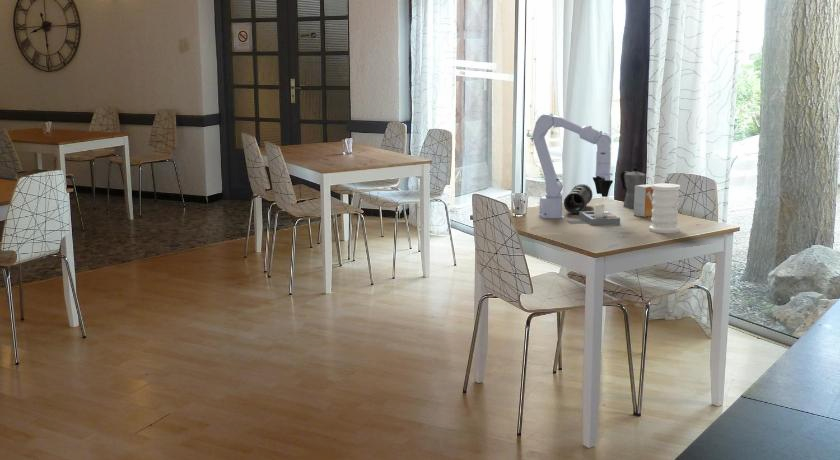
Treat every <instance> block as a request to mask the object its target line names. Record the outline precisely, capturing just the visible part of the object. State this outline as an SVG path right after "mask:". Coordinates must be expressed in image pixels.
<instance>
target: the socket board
mask: <svg viewBox="0 0 840 460" xmlns="http://www.w3.org/2000/svg"><path fill="white" fill-rule="evenodd" d="M578 217H579V218H580V220H583V221H584V222H586V223H587V224H589V225H590V226H604V225H605V226H610V225H611V226H612V225H616V226H617V225H621V218H620V217H618V216H617V215H615V214H613V213H612V212H610V211H608V210H604V218H594V210H585V211H584V210H582V211H579V213H578Z"/></svg>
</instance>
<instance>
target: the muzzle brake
mask: <svg viewBox="0 0 840 460" xmlns="http://www.w3.org/2000/svg"><path fill="white" fill-rule="evenodd" d="M593 194H594V193H593V190H592V188H591V187H590V186H589V185H587V184H582V183H581V184H577V185H575V186H574V187H573V188H572V189H571V191H570V192H569V193H568V194H567V195H566V196H565V198H564V199H563V200H564V201H563V206H564V208H565V210H566V212H568V213H569V214H572V215H577V214H579V211H584V209H585V207H586V206H587V205H588V204H589V203H590V202H591V201H592V198H593Z"/></svg>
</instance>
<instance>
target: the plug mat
mask: <svg viewBox="0 0 840 460" xmlns="http://www.w3.org/2000/svg"><path fill="white" fill-rule="evenodd" d="M566 222H567V223H569V224H570V225H582V224H583V225H586V224H588V223H587V222H585V221H584V220H582V219H580V220H566Z"/></svg>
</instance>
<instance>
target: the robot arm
mask: <svg viewBox="0 0 840 460" xmlns="http://www.w3.org/2000/svg"><path fill="white" fill-rule="evenodd" d="M552 127H553V129H554V128H563V129H565V130H568V131H571V132H573V133H575V134H577V135H579V138H580V139H581V140H583V141H586V142H588V143H590V144H592V145H596V146H597V147H596V150H597V151H596V154H595V155H596V156H595V157H596V158H595V159H596V160H595V175H594V176H592V180H593V182H594V185H595V192H596V194H597V195H601V197H602V198H608V196H609V192H610V188H611V186H612V184H613V183H614V181H613V180H612V179H611V176H614V175H613V172H611V144H612V138H611V136H610V135H609V134H608V133H606V132H603V130H600V131H599V130H597V129H595V128H593V126H592V125H589V126H588V125H583V126H581V125H579V124H576V123H574V122H572V121H570V120H568V119H566V118H564V117H562V116H558V115H556V114H552V113H551V112H546V113H543V114H542V115H540V116H539V117H538V119H536V122H535V124H534V129H533V132H532V140H533V144H534V147H535V151H536V153H537V157H538V160H539V163H540V167H541V169H542V170H541V171H542V173H543V176H544V182H545V196H541V197H540V198H539V206H538V208H539V209H538V210H539V212H538V213H539V214H538V216H539V217H541V218H542V219H561V218H563V219H564V218H566V217H565V216H564V215H563V194H562V193H561V192H563V188H564V186H563V183H562V181H560V179H559V177H558V174H557V173H556V170H555V166H554V163H553V160H552V157H551V154H550V151H549V147H548V144H547V142H546V141H547V140H546V138H545V136H546V135H547V134H548V133H549V130H550V129H551V128H552Z"/></svg>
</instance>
